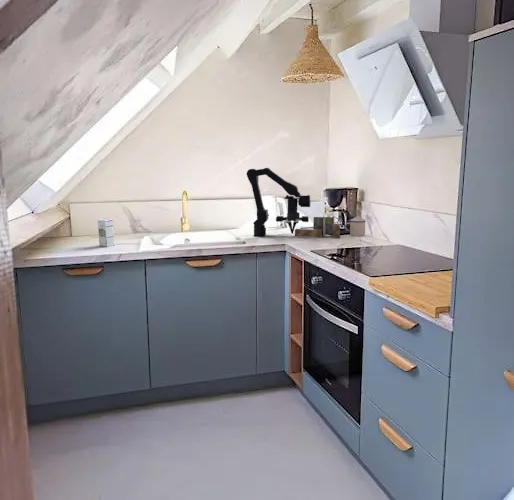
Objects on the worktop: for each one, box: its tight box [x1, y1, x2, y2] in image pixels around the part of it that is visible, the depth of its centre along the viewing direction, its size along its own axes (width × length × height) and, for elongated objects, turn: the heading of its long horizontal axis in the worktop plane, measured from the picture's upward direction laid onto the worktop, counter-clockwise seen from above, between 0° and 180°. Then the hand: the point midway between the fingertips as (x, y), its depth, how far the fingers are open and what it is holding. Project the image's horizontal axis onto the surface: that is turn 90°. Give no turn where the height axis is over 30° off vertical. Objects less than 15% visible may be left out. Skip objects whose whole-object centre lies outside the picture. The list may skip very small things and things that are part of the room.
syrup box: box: [97, 217, 115, 248], centre depth 265 cm, size 6×6×14 cm
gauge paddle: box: [322, 218, 326, 238], centre depth 294 cm, size 1×14×9 cm, turn 173°
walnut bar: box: [294, 228, 324, 238], centre depth 292 cm, size 16×4×4 cm, turn 72°
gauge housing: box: [312, 216, 341, 239], centre depth 294 cm, size 15×17×10 cm
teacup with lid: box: [344, 215, 366, 237], centre depth 295 cm, size 12×9×12 cm
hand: (292, 233), depth 293 cm, fingers closed
